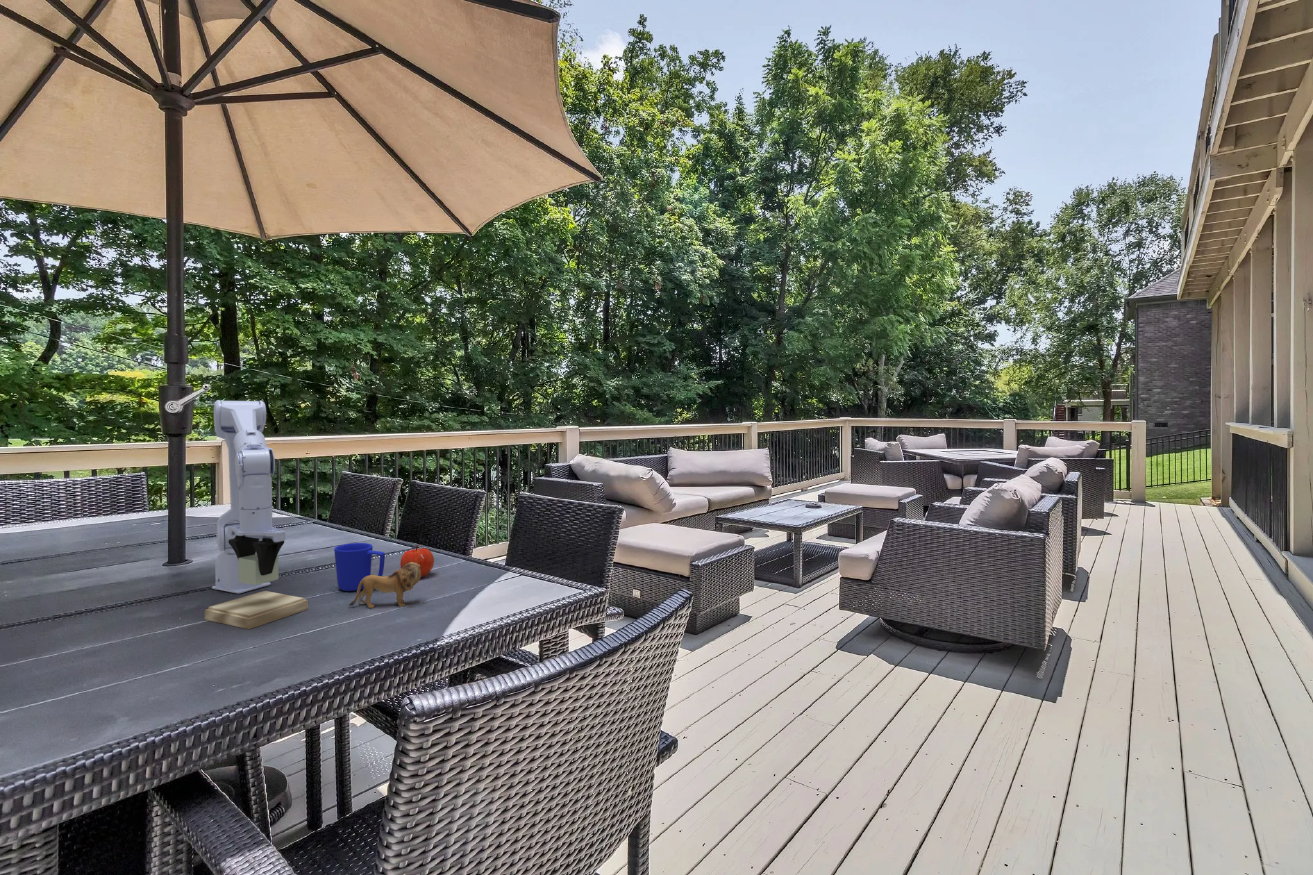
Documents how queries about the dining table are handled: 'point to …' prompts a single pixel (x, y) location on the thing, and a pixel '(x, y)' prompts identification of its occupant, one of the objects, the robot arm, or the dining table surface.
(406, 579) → the lion figurine
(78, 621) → the dining table surface
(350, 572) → the mug
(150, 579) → the dining table surface
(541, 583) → the dining table surface
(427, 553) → the apple
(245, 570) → the sage cube
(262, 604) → the plinth
